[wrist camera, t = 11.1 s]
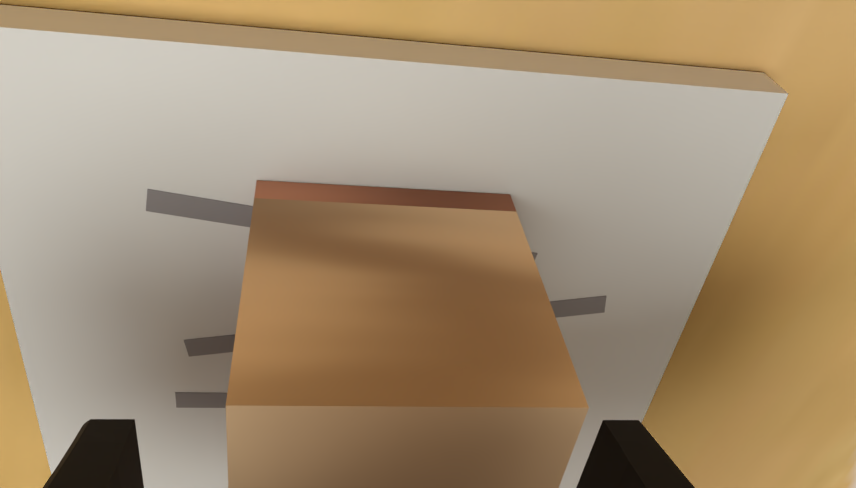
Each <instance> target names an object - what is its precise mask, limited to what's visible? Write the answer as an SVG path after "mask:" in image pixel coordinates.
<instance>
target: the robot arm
mask: <svg viewBox="0 0 856 488" xmlns="http://www.w3.org/2000/svg"><path fill="white" fill-rule="evenodd" d="M43 488H144V484H143V477H142V469H141V462H140V455H139V447H138V440H137V432H136V425H135V419H90V420H89V421H87V422H86V423H85V424H83V426H82V427H81V429H80V431H79V432H78V434H77V436H76V437H75V439H74V441H73V442H72V444H71V445H70V447H69V449H68V450H67V452H66V453H65V455H64V456H63V458H62V460H61V461H60V463H59V464H58V466H57V467H56V469H55V470H54V472H53V473H52V475H51V476H50V478H49V479H48V481H47V482H46V484H45V485H44V487H43ZM576 488H694V486H693V485H692V484H691V483H690V482H689V480H688V479H687V478H686V477H685V476H684V474H683V473H682V472H681V471H680V470H679V468H678V467H677V466H676V465H675V464H674V462H673V461H672V460H671V459H670V457H669V456H668V455H667V454H666V453H665V451H664V450H663V449H662V448H661V447H660V445H659V444H658V443H657V442H656V441H655V439H654V438H653V437H652V436H651V435H650V433H649V432H648V431H647V430H646V429H645V427H644V426H643V425H642V424H641V423H640V421H639V420H603V421H602V424H601V426H600V429H599V431H598V434H597V436H596V439H595V442H594V444H593V447H592V449H591V452H590V454H589V457H588V459H587V462H586V464H585V467H584V469H583V472H582V474H581V477H580V479H579V482H578V485H577V487H576Z"/></svg>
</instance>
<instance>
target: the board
mask: <svg viewBox="0 0 856 488" xmlns="http://www.w3.org/2000/svg"><path fill="white" fill-rule="evenodd" d="M787 96H788V93H787V92H786V91H785V90H783V89H782V88H781V87H780V86H779V85H778V84H777V83H775V82H774V81H773V80H772V79H771V78H770V77H768V76H767V75H766V74H765V73H762V72H751V71H740V70H729V69H717V68H706V67H695V66H684V65H673V64H661V63H650V62H639V61H628V60H617V59H605V58H594V57H583V56H572V55H561V54H549V53H538V52H527V51H516V50H505V49H493V48H482V47H471V46H460V45H449V44H437V43H426V42H415V41H404V40H392V39H381V38H370V37H359V36H348V35H336V34H325V33H314V32H303V31H292V30H280V29H269V28H258V27H247V26H236V25H224V24H213V23H202V22H191V21H180V20H168V19H157V18H146V17H135V16H124V15H112V14H101V13H90V12H79V11H68V10H56V9H45V8H34V7H23V6H12V5H0V270H1V274H2V278H3V282H4V286H5V290H6V294H7V298H8V302H9V306H10V310H11V314H12V318H13V322H14V326H15V330H16V334H17V338H18V342H19V346H20V350H21V354H22V358H23V362H24V366H25V370H26V374H27V378H28V382H29V386H30V390H31V394H32V398H33V402H34V406H35V410H36V414H37V418H38V422H39V426H40V430H41V434H42V438H43V442H44V446H45V450H46V454H47V458H48V462H49V466H50V470H51V474H52V473H53V472H54V470H55V469H56V467H57V466H58V464H59V463H60V461H61V460H62V458H63V456H64V455H65V453H66V452H67V450H68V449H69V447H70V445H71V444H72V442H73V441H74V439H75V437H76V436H77V434H78V432H79V431H80V429H81V427H82V426H83V424H85V423H86V422H87V421H89V420H90V419H135V425H136V432H137V440H138V447H139V455H140V462H141V469H142V477H143V484H144V488H228V462H227V432H226V399H227V392H228V385H229V377H230V370H231V363H232V356H233V348H234V341H235V334H236V327H237V319H238V312H239V305H240V297H241V290H242V283H243V276H244V268H245V261H246V254H247V247H248V239H249V232H250V225H251V218H252V210H253V203H254V196H255V189H256V181H257V180H260V181H278V182H296V183H314V184H332V185H350V186H368V187H386V188H404V189H422V190H440V191H458V192H476V193H494V194H510V195H511V198H512V201H513V203H514V206H515V209H516V211H517V214H518V217H519V220H520V222H521V225H522V228H523V230H524V233H525V236H526V239H527V241H528V244H529V247H530V249H531V252H532V255H533V258H534V260H535V263H536V266H537V268H538V271H539V274H540V277H541V279H542V282H543V285H544V287H545V290H546V293H547V295H548V298H549V301H550V304H551V306H552V309H553V312H554V314H555V317H556V320H557V323H558V325H559V328H560V331H561V333H562V336H563V339H564V342H565V344H566V347H567V350H568V352H569V355H570V358H571V360H572V363H573V366H574V369H575V371H576V374H577V377H578V379H579V382H580V385H581V388H582V390H583V393H584V396H585V398H586V401H587V404H588V407H589V409H588V412H587V414H586V417H585V420H584V422H583V425H582V427H581V430H580V433H579V435H578V438H577V441H576V443H575V446H574V449H573V451H572V454H571V457H570V459H569V462H568V464H567V467H566V470H565V472H564V475H563V478H562V480H561V483H560V486H559V488H576V487H577V485H578V482H579V479H580V477H581V474H582V472H583V469H584V467H585V464H586V462H587V459H588V457H589V454H590V452H591V449H592V447H593V444H594V442H595V439H596V436H597V434H598V431H599V429H600V426H601V424H602V421H603V420H639V421H640V423H642V421H643V419H644V416H645V414H646V412H647V410H648V407H649V405H650V403H651V401H652V398H653V396H654V394H655V392H656V389H657V387H658V385H659V383H660V380H661V378H662V376H663V374H664V372H665V369H666V367H667V365H668V363H669V360H670V358H671V356H672V354H673V351H674V349H675V347H676V345H677V342H678V340H679V338H680V336H681V333H682V331H683V329H684V327H685V324H686V322H687V320H688V318H689V315H690V313H691V311H692V309H693V306H694V304H695V302H696V300H697V298H698V295H699V293H700V291H701V289H702V286H703V284H704V282H705V280H706V277H707V275H708V273H709V271H710V268H711V266H712V264H713V262H714V259H715V257H716V255H717V253H718V250H719V248H720V246H721V244H722V241H723V239H724V237H725V235H726V232H727V230H728V228H729V226H730V224H731V221H732V219H733V217H734V215H735V212H736V210H737V208H738V206H739V203H740V201H741V199H742V197H743V194H744V192H745V190H746V188H747V185H748V183H749V181H750V179H751V176H752V174H753V172H754V170H755V167H756V165H757V163H758V161H759V159H760V156H761V154H762V152H763V150H764V147H765V145H766V143H767V141H768V138H769V136H770V134H771V132H772V129H773V127H774V125H775V123H776V120H777V118H778V116H779V114H780V111H781V109H782V107H783V105H784V102H785V100H786V98H787Z"/></svg>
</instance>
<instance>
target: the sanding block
mask: <svg viewBox="0 0 856 488" xmlns="http://www.w3.org/2000/svg"><path fill="white" fill-rule="evenodd" d="M588 409H589V407H588V404H587V401H586V398H585V396H584V393H583V390H582V388H581V385H580V382H579V379H578V377H577V374H576V371H575V369H574V366H573V363H572V360H571V358H570V355H569V352H568V350H567V347H566V344H565V342H564V339H563V336H562V333H561V331H560V328H559V325H558V323H557V320H556V317H555V314H554V312H553V309H552V306H551V304H550V301H549V298H548V295H547V293H546V290H545V287H544V285H543V282H542V279H541V277H540V274H539V271H538V268H537V266H536V263H535V260H534V258H533V255H532V252H531V249H530V247H529V244H528V241H527V239H526V236H525V233H524V230H523V228H522V225H521V222H520V220H519V217H518V214H517V211H516V209H515V206H514V203H513V201H512V198H511V195H510V194H494V193H476V192H458V191H440V190H422V189H404V188H386V187H368V186H350V185H332V184H314V183H296V182H278V181H260V180H257V181H256V189H255V196H254V203H253V210H252V218H251V225H250V232H249V239H248V247H247V254H246V261H245V268H244V276H243V283H242V290H241V297H240V305H239V312H238V319H237V327H236V334H235V341H234V348H233V356H232V363H231V370H230V377H229V385H228V392H227V399H226V432H227V462H228V488H559V486H560V483H561V480H562V478H563V475H564V472H565V470H566V467H567V464H568V462H569V459H570V457H571V454H572V451H573V449H574V446H575V443H576V441H577V438H578V435H579V433H580V430H581V427H582V425H583V422H584V420H585V417H586V414H587V412H588Z"/></svg>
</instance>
